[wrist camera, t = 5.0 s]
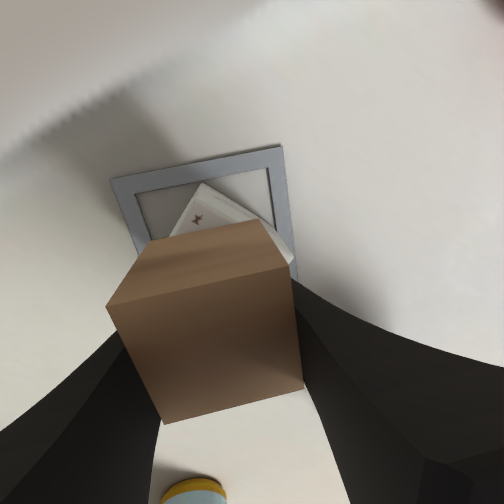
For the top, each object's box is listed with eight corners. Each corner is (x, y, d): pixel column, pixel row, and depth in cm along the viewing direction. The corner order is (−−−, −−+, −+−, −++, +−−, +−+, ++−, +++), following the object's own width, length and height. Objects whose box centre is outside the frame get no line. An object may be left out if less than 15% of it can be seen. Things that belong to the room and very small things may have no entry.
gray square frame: (297, 288, 19) (298, 289, 19) (165, 319, 18) (164, 320, 18) (281, 146, 15) (282, 146, 15) (110, 179, 14) (109, 179, 14)
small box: (157, 255, 16) (136, 295, 12) (201, 179, 15) (196, 193, 11) (231, 291, 18) (237, 338, 14) (276, 227, 17) (299, 255, 12)
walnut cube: (273, 307, 12) (304, 388, 8) (180, 328, 12) (164, 424, 8) (258, 218, 10) (289, 265, 6) (149, 240, 10) (105, 306, 6)
